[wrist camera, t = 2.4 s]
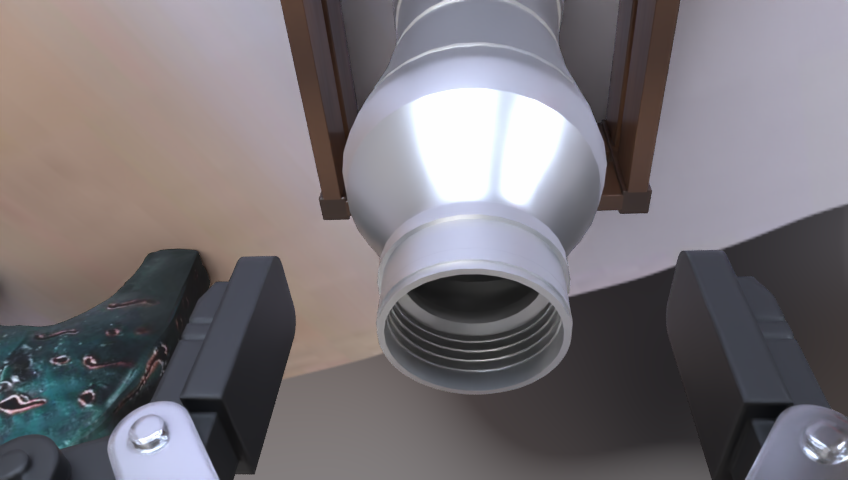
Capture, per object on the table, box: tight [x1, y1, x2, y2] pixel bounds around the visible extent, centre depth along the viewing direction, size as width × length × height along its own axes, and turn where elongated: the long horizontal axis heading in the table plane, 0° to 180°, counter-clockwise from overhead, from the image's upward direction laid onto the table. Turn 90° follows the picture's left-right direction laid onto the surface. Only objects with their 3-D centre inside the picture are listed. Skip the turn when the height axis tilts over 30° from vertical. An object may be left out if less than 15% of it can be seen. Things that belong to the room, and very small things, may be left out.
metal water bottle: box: [342, 0, 607, 394], centre depth 20 cm, size 6×7×20 cm
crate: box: [280, 0, 680, 220], centre depth 25 cm, size 16×14×6 cm
